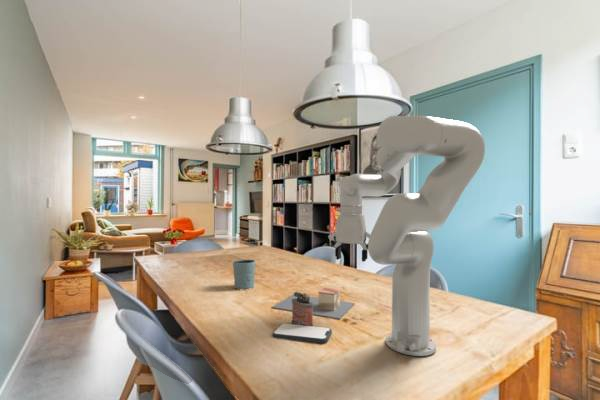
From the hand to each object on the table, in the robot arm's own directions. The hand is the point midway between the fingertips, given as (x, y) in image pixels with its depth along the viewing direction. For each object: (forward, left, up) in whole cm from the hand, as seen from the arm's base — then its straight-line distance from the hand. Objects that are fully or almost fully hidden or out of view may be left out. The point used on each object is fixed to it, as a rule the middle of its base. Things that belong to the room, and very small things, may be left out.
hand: (351, 259), depth 110 cm
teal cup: (+10, +53, -18) cm, 57 cm away
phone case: (-25, +7, -19) cm, 32 cm away
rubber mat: (0, +14, -18) cm, 23 cm away
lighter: (-19, +10, -18) cm, 29 cm away
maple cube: (0, +8, -18) cm, 20 cm away
